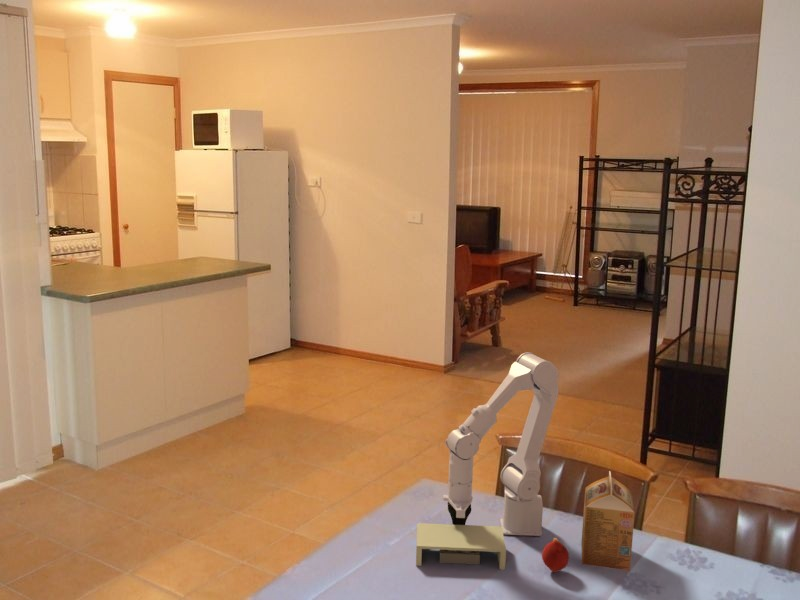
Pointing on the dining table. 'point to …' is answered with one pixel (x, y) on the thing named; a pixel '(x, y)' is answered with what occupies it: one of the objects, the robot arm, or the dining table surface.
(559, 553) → the onion
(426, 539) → the bench
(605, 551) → the milk carton
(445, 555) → the tray
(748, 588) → the dining table surface
